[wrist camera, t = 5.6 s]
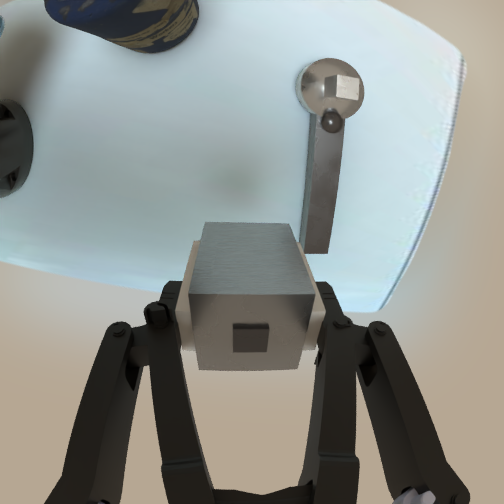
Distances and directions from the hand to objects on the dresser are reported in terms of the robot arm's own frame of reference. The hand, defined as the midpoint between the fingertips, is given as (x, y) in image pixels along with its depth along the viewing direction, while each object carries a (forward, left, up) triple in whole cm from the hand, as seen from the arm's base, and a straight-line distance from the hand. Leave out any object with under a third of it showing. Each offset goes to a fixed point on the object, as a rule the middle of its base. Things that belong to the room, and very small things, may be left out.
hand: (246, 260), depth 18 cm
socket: (0, 0, 0) cm, 0 cm away
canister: (-10, +21, -17) cm, 29 cm away
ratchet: (+9, +4, -17) cm, 20 cm away
